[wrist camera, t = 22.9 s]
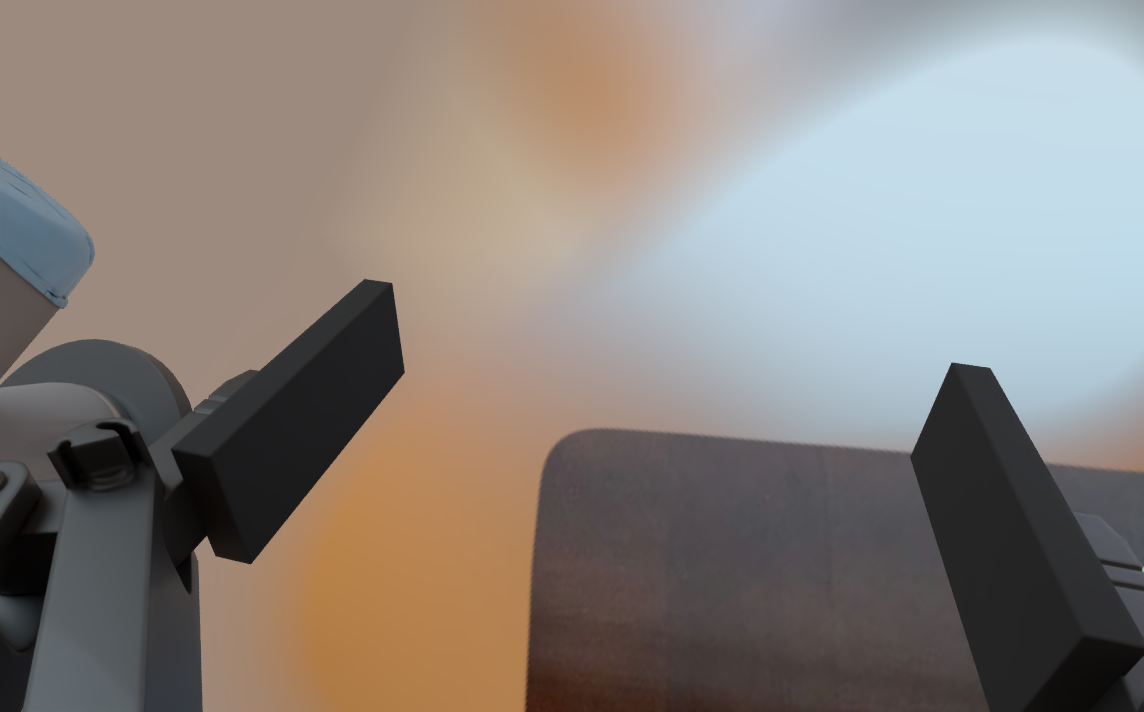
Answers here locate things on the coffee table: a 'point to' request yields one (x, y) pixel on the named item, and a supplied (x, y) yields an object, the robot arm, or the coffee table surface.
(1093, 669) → the robot arm
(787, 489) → the coffee table surface
